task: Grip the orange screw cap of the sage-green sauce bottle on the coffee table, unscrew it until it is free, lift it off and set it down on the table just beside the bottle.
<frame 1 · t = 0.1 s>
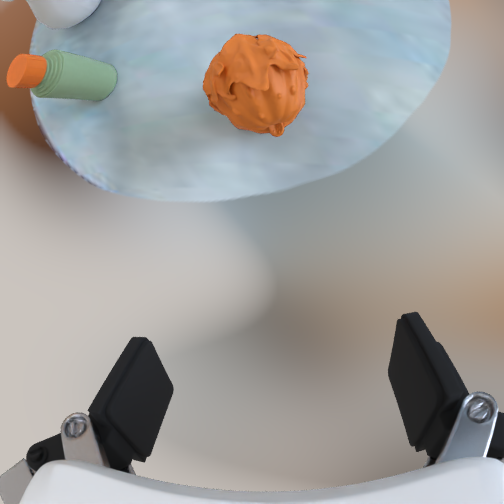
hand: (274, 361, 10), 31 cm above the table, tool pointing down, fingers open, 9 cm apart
cap: (17, 70, 16), point 18 cm above the table, screwed on, not yet turned
orange sculpture: (263, 100, 34), on the table
bottle: (100, 82, 33), on the table
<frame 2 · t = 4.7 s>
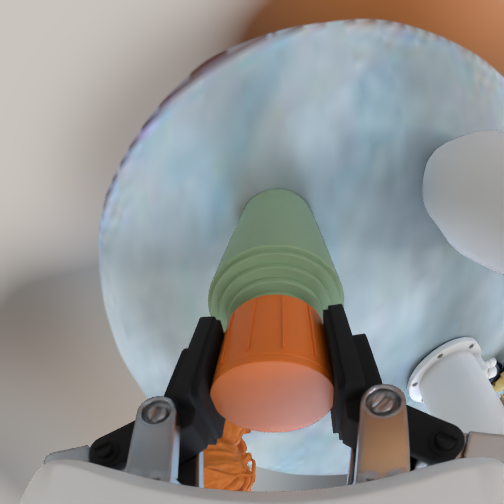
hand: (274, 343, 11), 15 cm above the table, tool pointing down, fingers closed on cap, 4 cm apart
cap: (272, 396, 8), point 18 cm above the table, screwed on, not yet turned, touching gripper
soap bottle: (466, 185, 21), on the table
orange sculpture: (225, 399, 35), on the table
figurine: (493, 367, 31), on the table, touching arm
bottle: (277, 224, 25), on the table
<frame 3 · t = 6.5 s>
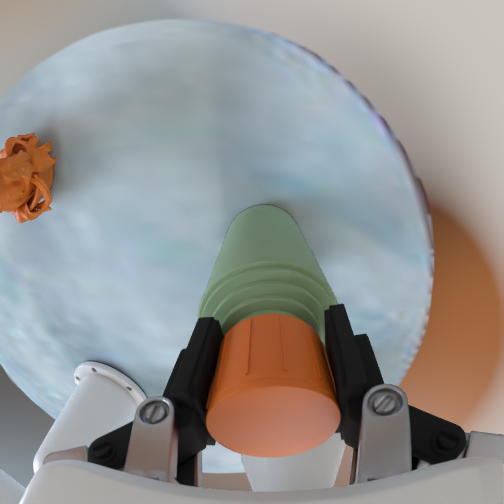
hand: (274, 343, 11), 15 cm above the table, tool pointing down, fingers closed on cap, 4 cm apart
cap: (273, 421, 7), point 18 cm above the table, turned 94° so far, risen 0.1 cm, still on its thread, touching gripper
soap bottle: (289, 392, 32), on the table
orange sculpture: (37, 170, 23), on the table
bottle: (263, 241, 24), on the table, touching gripper
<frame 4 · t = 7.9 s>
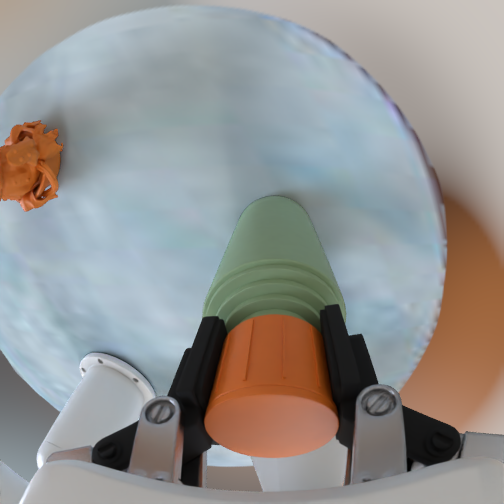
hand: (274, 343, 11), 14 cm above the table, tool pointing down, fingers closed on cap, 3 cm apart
cap: (271, 424, 7), point 18 cm above the table, turned 94° so far, risen 0.1 cm, still on its thread, touching gripper
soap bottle: (299, 384, 32), on the table
orange sculpture: (44, 158, 23), on the table
bottle: (274, 232, 24), on the table
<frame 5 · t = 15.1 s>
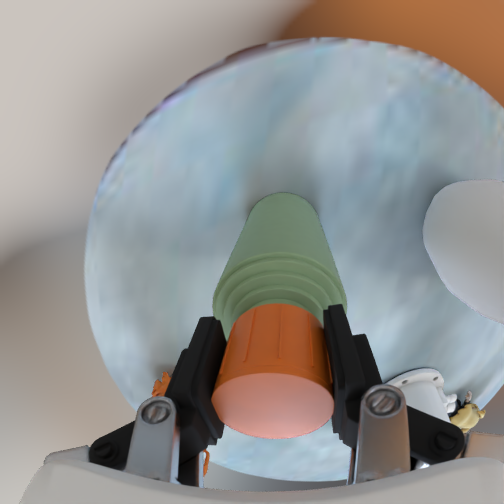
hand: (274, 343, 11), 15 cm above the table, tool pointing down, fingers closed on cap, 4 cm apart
cap: (273, 404, 8), point 18 cm above the table, turned 106° so far, risen 0.1 cm, still on its thread, touching gripper
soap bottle: (464, 226, 23), on the table
orange sculpture: (186, 386, 35), on the table
figurine: (451, 402, 35), on the table, touching arm
bottle: (283, 228, 25), on the table
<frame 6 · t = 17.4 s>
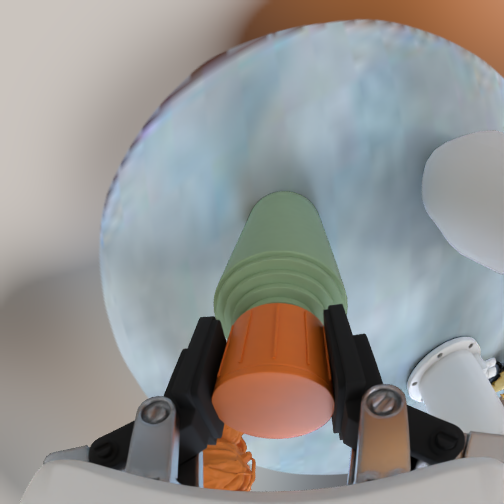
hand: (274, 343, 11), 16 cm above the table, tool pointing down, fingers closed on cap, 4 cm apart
cap: (273, 404, 8), point 18 cm above the table, turned 188° so far, risen 0.2 cm, still on its thread, touching gripper
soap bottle: (466, 185, 22), on the table
orange sculpture: (225, 399, 35), on the table
figurine: (492, 366, 32), on the table, touching arm
bottle: (284, 226, 25), on the table
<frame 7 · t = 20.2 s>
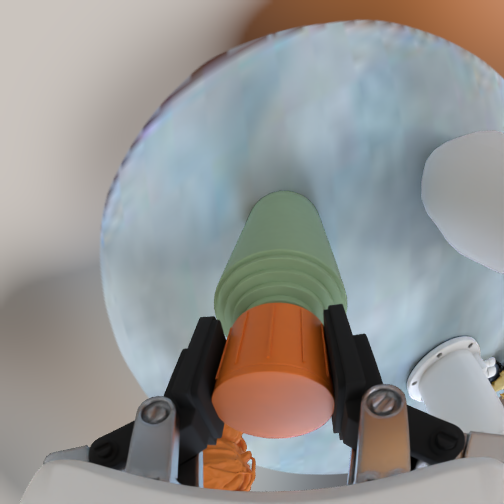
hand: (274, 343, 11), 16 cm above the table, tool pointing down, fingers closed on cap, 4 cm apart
cap: (273, 404, 8), point 18 cm above the table, turned 283° so far, risen 0.3 cm, still on its thread, touching gripper
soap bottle: (465, 185, 22), on the table
orange sculpture: (225, 398, 36), on the table
figurine: (492, 366, 32), on the table, touching arm
bottle: (284, 226, 25), on the table
when the fingers open (2 cm above the table, at t = 29.9 s): cap drops 1 cm, point 3 cm above the table.
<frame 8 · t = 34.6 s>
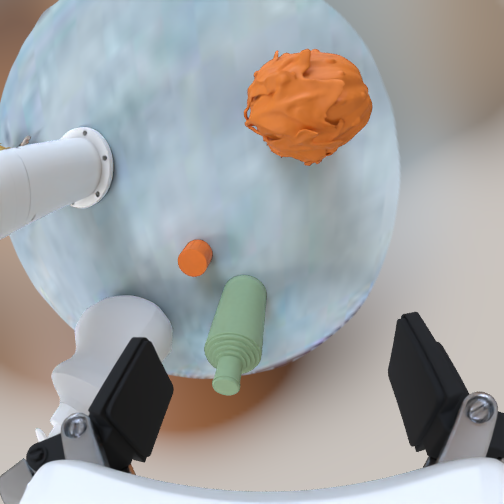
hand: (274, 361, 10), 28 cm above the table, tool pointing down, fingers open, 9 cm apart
cap: (192, 262, 37), point 3 cm above the table, off its thread
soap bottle: (138, 312, 46), on the table
orange sculpture: (297, 115, 32), on the table
bottle: (244, 294, 42), on the table
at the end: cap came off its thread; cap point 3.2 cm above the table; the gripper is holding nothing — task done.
